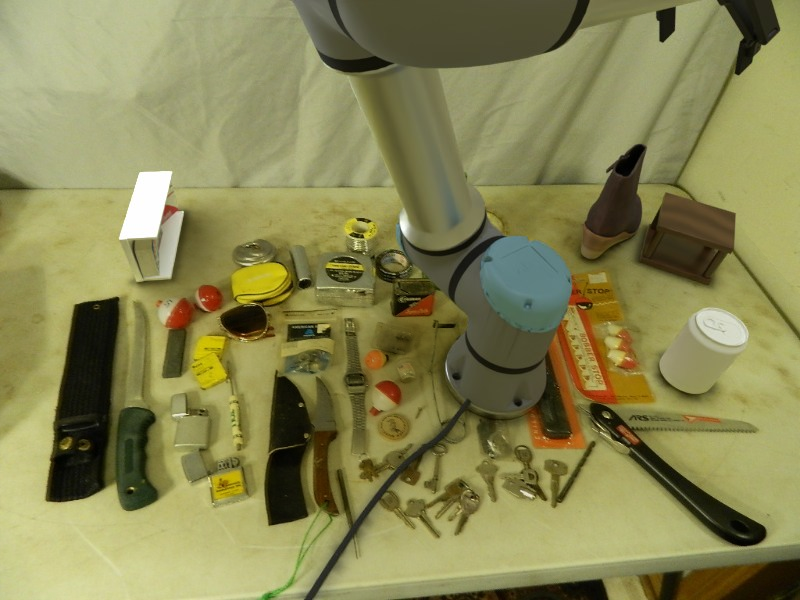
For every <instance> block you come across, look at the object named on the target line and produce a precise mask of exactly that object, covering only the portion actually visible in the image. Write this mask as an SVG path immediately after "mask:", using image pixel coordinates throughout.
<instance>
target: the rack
mask: <svg viewBox="0 0 800 600" xmlns="http://www.w3.org/2000/svg"><path fill="white" fill-rule="evenodd" d="M736 216H737V213H736V212H734V211H731V210H727V209H723V208H721V207H717V206H713V205H711V204H707V203H704V202H700V201H697V200H693V199H690V198H687V197H683V196H680V195H678V194H677V195H676V194H674V193H670V192H667V191H666V192H664V194H663V197H662V201H661V204H660V206H659V207H658V210H657V212H656V213H655V215H654V218H653V219H652V221H651V223H649V224H648V225H647V227H646V230H645V235H644V239H643V243H642V248H641V251H640V255H639V259H638V262H639V263H641V264H645V265H647V266H651V267H654V268H657V269H660V270H662V271H666V272H668V273H671V274H674V275H677V276H680V277H683V278H686V279H689V280H692V281H695V282H698V283H701V284H704V285H708V286H709V285H711V283H712V282H713V276H714V274H715V273H716V271H717V270H718V268H719V267H720V266H721V264H722V263H723V262H724V260H725V259H726V257H727V256H728V255H731V254H733V251H734V250H735V239H736V237H735V236H736V218H737V217H736ZM715 250H717V252H716V253H715Z"/></svg>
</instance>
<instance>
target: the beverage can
mask: <svg viewBox="0 0 800 600" xmlns="http://www.w3.org/2000/svg"><path fill="white" fill-rule="evenodd" d="M749 335H750V334H749V330H748V327H747V326H746V325H745V323H744V322H743V321H742V320H741V319H740V318H739V317H737V316H736V315H735V314H733V313H731V312H729V311H727V310H725V309H722V308H717V307H704V308H702V309H699V311H696V312H694V313H693V314H691V315H690V316H689V318H688V319H687V320H686V322H685V323H684V325H683V326H682V328H681V329H680V330H679V332H678V333H677V335H676V336H675V338H674V339H673V341H672V342H671V343H670V345H668V347H667V349H666V350H665V352H664V353H663V354H662V355H661V357H660V359H659V363H658V364H659V365H658V366H659V370H660V373H661V375H662V376H663V378H664V379H665V380H666V382H667V383H668V384H670V385H671V386H672V387H674V388H675V389H677V390H679V391H682V392H683V393H687V394H692V395H699V394H700V395H701V394H704V393H707V392H708V391H710V390H711V388H712V387H713V386H714V385H715V384H716V383H717V381H718V380H719V379H720V378H721V377H722V376H723V375H724V374H725V372H726V371H727V370H728V369H729V368H730V367H731V366H732V364H733V363H734V362H735V361H736V360H737V359H738V358H739V357H740V355H741V354H742V353H743V352H744V351H745V350H746V348H747V346H748V339H749V337H750V336H749Z"/></svg>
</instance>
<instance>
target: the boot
mask: <svg viewBox="0 0 800 600" xmlns="http://www.w3.org/2000/svg"><path fill="white" fill-rule="evenodd" d="M647 150H648V146H647V145H645V144H643V143H636V144H634V145H633V146H632V147H630V148H629V149H627V151H626V152H625V153H624V154H620V156H619V157H618V159H617V160H615V161H614V162H613V163H612V164H611V165H610V166H608V168H607V169H605V173H606V174H608V173H609V175H608V178H607V179H606V180H605V181H606V182H605V184H604V186H603V187H602V190H601V192H600V194H599V196H598V197H597V199H596V201H594V203H592V205H591V206H590V208H589V210H588V212H587V216H586V220H585V221H584V223H583V226H582V236H581V246H580V253H581V255H582V256H583V257H584V258H585V259H588V260H594V259H597V258H599V257H601V255H603V254H604V253H605V252H606V251H607V250H608V249H610V248H611V247H612V246H614V245H617V244H619V243H621V242H624V241H626V240H628V239H630V238H632V237H633V236H634V235H635V234H636V233H637V232H638V230H639V228H640V226H641V223H642V218H643V203H642V199H641V196H639V194H638V188H639V184H640V179H641V173H642V170H643V164H644V161H645V157H646V154H647Z"/></svg>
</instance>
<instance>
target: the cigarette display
mask: <svg viewBox="0 0 800 600" xmlns="http://www.w3.org/2000/svg"><path fill="white" fill-rule="evenodd" d="M173 174H174V173H173V171H143V172H141V171H139V174H138V178H137V180H136V184H135V186H134V190H133V193H132V195H131V200H130V202H129V206H128V208H127V212H126V216H125V218H124V221H123V225H122V228H121V231H120V234H119V237H118V241H119V243H120V246H121V248H122V251H123V253H124V256H125V258H126V260H127V262H128V265H129V267H130V270H131V272H132V274H133V277H134V280H135V282H136V283H142V282H145V281H162V280H163V281H164V280H172V276H173V271H174V266H175V262H176V255H177V251H178V246H179V240H180V236H181V230H182V225H183V219H184V216H185V212H184V211H185V210H180V207H179V204H178V199H177V196H176V193H175V189H174V187H173V183H172V178H173Z"/></svg>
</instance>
